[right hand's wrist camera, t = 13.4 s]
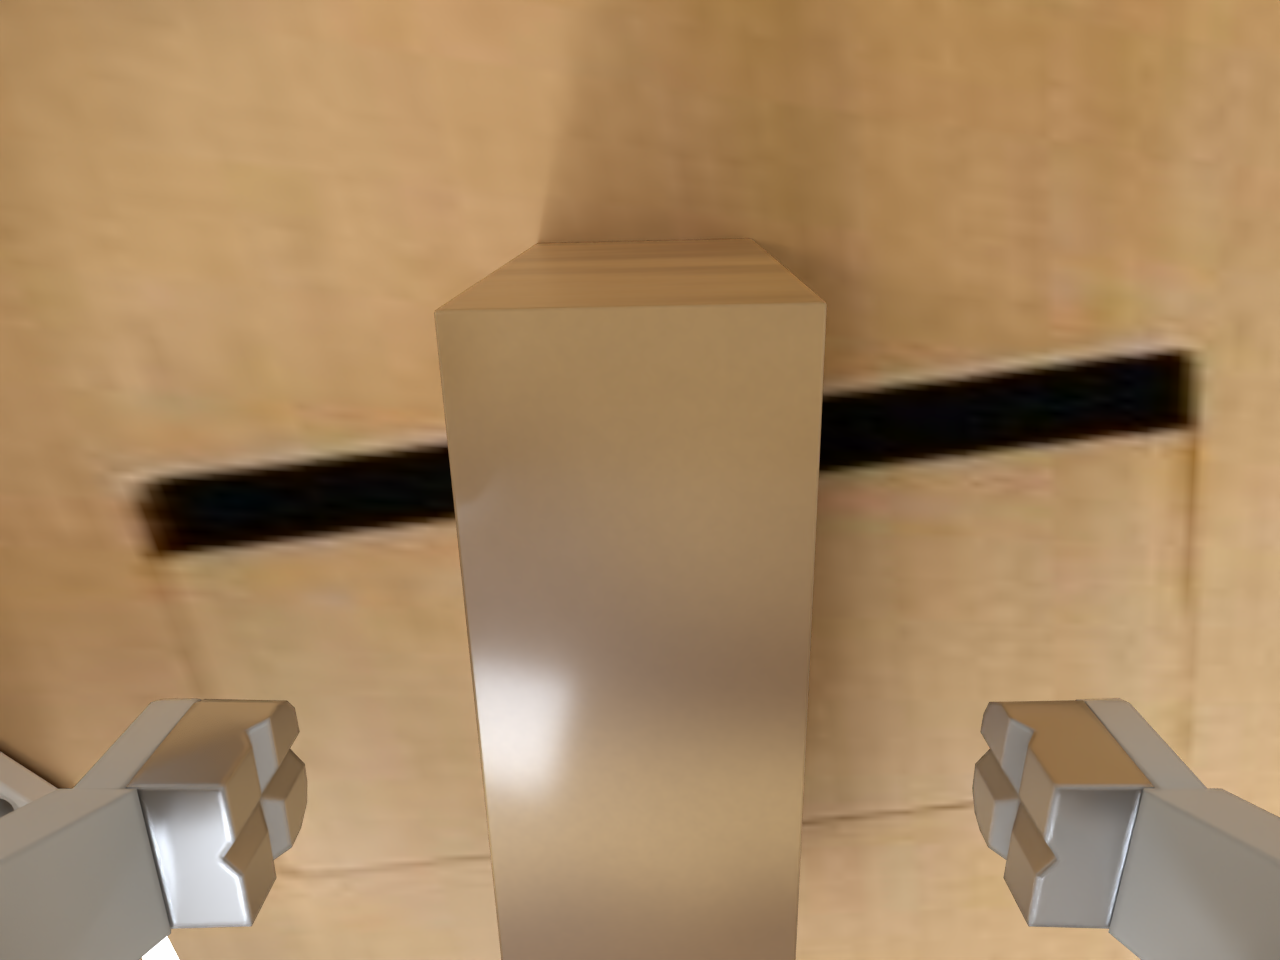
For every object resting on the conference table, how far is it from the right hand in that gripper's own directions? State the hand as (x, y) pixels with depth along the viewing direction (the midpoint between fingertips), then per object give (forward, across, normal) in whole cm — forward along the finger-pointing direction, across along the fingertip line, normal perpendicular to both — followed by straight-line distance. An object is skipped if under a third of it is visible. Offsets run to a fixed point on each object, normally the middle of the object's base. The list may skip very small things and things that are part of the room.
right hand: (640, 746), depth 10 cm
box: (+16, 0, +7) cm, 18 cm away
